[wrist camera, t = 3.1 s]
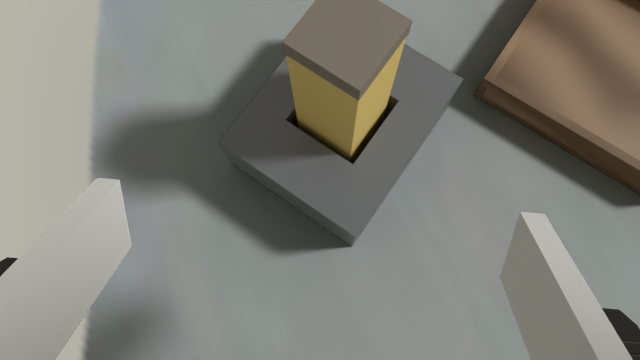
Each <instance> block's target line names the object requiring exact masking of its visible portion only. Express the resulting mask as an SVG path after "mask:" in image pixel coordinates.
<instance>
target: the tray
mask: <svg viewBox="0 0 640 360" xmlns="http://www.w3.org/2000/svg"><path fill="white" fill-rule="evenodd" d="M473 95H474V96H476V97H478V98H479V99H481V100H483V101H484V102H486V103H488V104H489V105H491V106H493V107H494V108H496V109H498V110H499V111H501V112H503V113H504V114H506V115H508V116H509V117H511V118H513V119H514V120H516V121H518V122H519V123H521V124H523V125H524V126H526V127H528V128H529V129H531V130H533V131H534V132H536V133H538V134H539V135H541V136H543V137H544V138H546V139H548V140H549V141H551V142H553V143H554V144H556V145H558V146H559V147H561V148H563V149H564V150H566V151H568V152H569V153H571V154H573V155H574V156H576V157H578V158H579V159H581V160H583V161H584V162H586V163H588V164H589V165H591V166H593V167H594V168H596V169H598V170H599V171H601V172H603V173H604V174H606V175H608V176H609V177H611V178H613V179H614V180H616V181H618V182H619V183H621V184H623V185H624V186H626V187H628V188H629V189H631V190H633V191H634V192H636V193H638V194H639V195H640V0H537V1H536V2H535V4H534V5H533V6H532V8H531V9H530V11H529V12H528V14H527V15H526V17H525V18H524V20H523V21H522V23H521V24H520V26H519V27H518V29H517V30H516V32H515V33H514V35H513V36H512V38H511V39H510V40H509V42H508V43H507V45H506V46H505V48H504V49H503V51H502V52H501V54H500V55H499V57H498V58H497V60H496V61H495V63H494V64H493V66H492V67H491V69H490V70H489V72H488V73H487V74H486V76H485V77H484V79H483V80H482V82H481V83H480V85H479V86H478V88H477V89H476V91H475V92H474V94H473Z"/></svg>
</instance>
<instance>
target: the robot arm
mask: <svg viewBox="0 0 640 360" xmlns="http://www.w3.org/2000/svg"><path fill="white" fill-rule="evenodd" d="M131 246H132V244H131V239H130V234H129V228H128V223H127V217H126V212H125V207H124V201H123V196H122V191H121V185H120V180H116V179H104V178H96V179H95V180H94V181H93V182H92V183H91V184H90V186H89V187H88V188H87V189H86V190H85V191H84V192H83V193H82V194H81V195H80V196H79V197H78V198H77V199H76V200H75V201H74V202H73V203H72V204H71V205H70V206H69V207H68V208H67V209H66V210H65V211H64V212H63V213H62V214H61V215H60V216H59V217H58V218H57V219H56V220H55V221H54V222H53V223H52V224H51V225H50V226H49V227H48V228H47V229H46V230H45V231H44V233H43V234H42V235H41V236H40V237H39V238H38V239H37V240H36V241H35V242H34V243H33V244H32V245H31V246H30V247H29V248H28V249H27V250H26V251H25V252H24V253H23V254H22V255H21V256H20V257H19V258H6V259H4V260H2V261H1V262H0V360H55V359H56V357H57V356H58V354H59V353H60V351H61V349H62V348H63V347H64V345H65V344H66V342H67V341H68V339H69V338H70V337H71V335H72V334H73V332H74V331H75V329H76V328H77V326H78V325H79V323H80V322H81V320H82V319H83V317H84V316H85V314H86V313H87V311H88V310H89V308H90V307H91V306H92V304H93V303H94V301H95V300H96V298H97V297H98V295H99V294H100V292H101V291H102V289H103V288H104V286H105V285H106V283H107V282H108V280H109V279H110V277H111V276H112V275H113V273H114V272H115V270H116V269H117V267H118V266H119V264H120V263H121V261H122V260H123V258H124V257H125V255H126V254H127V252H128V251H129V249H130V248H131ZM500 279H501V282H502V284H503V287H504V290H505V292H506V295H507V298H508V300H509V303H510V305H511V308H512V311H513V313H514V316H515V319H516V321H517V324H518V326H519V329H520V332H521V334H522V337H523V340H524V342H525V345H526V348H527V350H528V353H529V355H530V358H531V360H640V329H639V328H638V326H637V325H636V324H635V323H634V322H633V321H632V320H630V319H629V318H628V317H627V316H626V315H625V314H624V313H622V312H621V311H620V310H616V309H605V308H601V306H600V305H599V303H598V301H597V300H596V298H595V296H594V295H593V293H592V291H591V290H590V288H589V286H588V285H587V283H586V281H585V280H584V278H583V277H582V275H581V273H580V272H579V270H578V268H577V267H576V265H575V263H574V262H573V260H572V258H571V257H570V255H569V253H568V252H567V250H566V248H565V247H564V245H563V244H562V242H561V240H560V239H559V237H558V235H557V234H556V232H555V230H554V229H553V227H552V225H551V224H550V222H549V220H548V219H547V217H546V215H545V214H541V213H528V212H520V214H519V218H518V221H517V224H516V227H515V230H514V234H513V237H512V240H511V243H510V247H509V250H508V253H507V256H506V259H505V263H504V266H503V269H502V272H501V276H500Z"/></svg>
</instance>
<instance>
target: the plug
mask: <svg viewBox="0 0 640 360" xmlns="http://www.w3.org/2000/svg"><path fill="white" fill-rule="evenodd" d="M411 24H412V20H410V19H409V18H407V17H405V16H404V15H402V14H400V13H398V12H397V11H395V10H393V9H392V8H390V7H388V6H386V5H385V4H383V3H381V2H380V1H378V0H316V1H315V2H314V3H313V4H312V6H311V7H310V8H309V9H308V11H307V12H306V13H305V14H304V16H303V17H302V18H301V19H300V21H299V22H298V23H297V24H296V26H295V27H294V28H293V29H292V30H291V32H290V33H289V34H288V35H287V37H286V38H285V39H284V40H283V42H282V44H283V50H284V54H285V55H286V58H287V64H288V69H289V75H290V81H291V87H292V93H293V98H294V104H295V110H296V116H297V122H298V127H299V129H300V130H302V131H303V132H305V133H306V134H308V135H309V136H311V137H312V138H314V139H315V140H317V141H318V142H320V143H321V144H323V145H324V146H326V147H327V148H329V149H330V150H332V151H333V152H335V153H336V154H338V155H339V156H341V157H343V158H344V159H346V160H347V161H349V162H350V163H352V164H353V163H354V162H355V160H356V159H357V158H358V156H359V155H360V154H361V152H362V151H363V149H364V148H365V147H366V145H367V144H368V142H369V141H370V140H371V138H372V137H373V135H374V134H375V133H376V131H377V130H378V128H379V127H380V126H381V124H382V121H383V117H384V114H385V110H386V107H387V103H388V100H389V96H390V93H391V89H392V86H393V82H394V79H395V75H396V71H397V68H398V64H399V61H400V57H401V54H402V50H403V47H404V43H405V40H406V36H407V35H408V34H409V31H410V27H411Z"/></svg>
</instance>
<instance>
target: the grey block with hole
mask: <svg viewBox="0 0 640 360" xmlns="http://www.w3.org/2000/svg"><path fill="white" fill-rule="evenodd" d="M462 81H463V78H461V77H459V76H458V75H456V74H454V73H453V72H451V71H449V70H447V69H446V68H444V67H442V66H441V65H439V64H437V63H436V62H434V61H432V60H431V59H429V58H427V57H426V56H424V55H422V54H421V53H419V52H417V51H416V50H414V49H412V48H411V47H409V46H407V45H406V44H404V47H403V50H402V54H401V57H400V61H399V64H398V68H397V71H396V75H395V79H394V82H393V86H392V89H391V93H390V96H389V100H388V103H387V107H386V110H385V114H384V117H383V121H382V124H381V126H380V127H379V128H378V130H377V131H376V133H375V134H374V135H373V137H372V138H371V140H370V141H369V142H368V144H367V145H366V147H365V148H364V149H363V151H362V152H361V154H360V155H359V156H358V158H357V159H356V160H355V162H354V163H353V164H352V163H350V162H349V161H347V160H346V159H344V158H343V157H341V156H339V155H338V154H336V153H335V152H333V151H332V150H330V149H329V148H327V147H326V146H324V145H323V144H321V143H320V142H318V141H317V140H315V139H314V138H312V137H311V136H309V135H308V134H306V133H305V132H303V131H302V130H300V129H299V127H298V122H297V116H296V110H295V104H294V98H293V93H292V87H291V81H290V75H289V69H288V64H287V58H285V59H284V60H283V61H282V63H281V64H280V65H279V66H278V68H277V69H276V70H275V71H274V73H273V74H272V75H271V76H270V78H269V79H268V80H267V81H266V83H265V84H264V85H263V86H262V88H261V89H260V90H259V91H258V93H257V94H256V95H255V96H254V98H253V99H252V100H251V101H250V103H249V104H248V105H247V106H246V108H245V109H244V110H243V111H242V113H241V114H240V115H239V117H238V118H237V119H236V120H235V122H234V123H233V124H232V125H231V127H230V128H229V129H228V130H227V132H226V133H225V134H224V135H223V137H222V138H221V139H220V140H219V142H218V143H219V145H220V146H221V148H222V149H223V150H224V152H225V153H226V155H227V156H228V158H229V159H230V161H231V162H232V164H233V165H235V166H236V167H238V168H239V169H240V170H242V171H243V172H245V173H246V174H248V175H249V176H251V177H252V178H253V179H255V180H256V181H258V182H259V183H261V184H262V185H264V186H265V187H266V188H268V189H269V190H271V191H272V192H274V193H275V194H276V195H278V196H279V197H281V198H282V199H284V200H285V201H287V202H288V203H289V204H291V205H292V206H294V207H295V208H297V209H298V210H299V211H301V212H302V213H304V214H305V215H307V216H308V217H310V218H311V219H312V220H314V221H315V222H317V223H318V224H320V225H321V226H323V227H324V228H325V229H327V230H328V231H330V232H331V233H333V234H334V235H335V236H337V237H338V238H340V239H341V240H343V241H344V242H346V243H347V244H348V245H350V246H351V247H352V245H353V244H354V242H355V241H356V240H357V238H358V237H359V235H360V234H361V232H362V231H363V229H364V228H365V226H366V225H367V224H368V222H369V221H370V219H371V218H372V216H373V215H374V213H375V212H376V210H377V209H378V207H379V206H380V205H381V203H382V202H383V200H384V199H385V197H386V196H387V194H388V193H389V191H390V190H391V189H392V187H393V186H394V184H395V183H396V181H397V180H398V178H399V177H400V175H401V174H402V172H403V171H404V170H405V168H406V167H407V165H408V164H409V162H410V161H411V159H412V158H413V156H414V155H415V154H416V152H417V151H418V149H419V148H420V146H421V145H422V143H423V142H424V140H425V139H426V137H427V136H428V135H429V133H430V132H431V130H432V129H433V127H434V126H435V124H436V123H437V121H438V120H439V119H440V117H441V116H442V114H443V113H444V111H445V110H446V108H447V107H448V105H449V103H450V101H451V100H452V98H453V96H454V95H455V93H456V91H457V89H458V88H459V86H460V84H461V83H462Z"/></svg>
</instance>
